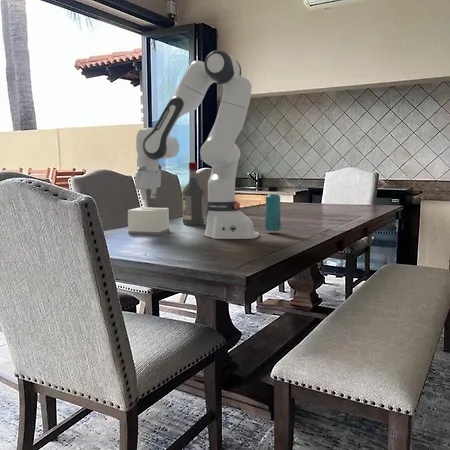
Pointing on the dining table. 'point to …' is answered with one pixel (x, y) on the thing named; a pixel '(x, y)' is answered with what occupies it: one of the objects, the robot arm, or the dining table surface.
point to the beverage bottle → (273, 210)
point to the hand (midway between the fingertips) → (149, 199)
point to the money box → (148, 221)
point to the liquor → (193, 200)
